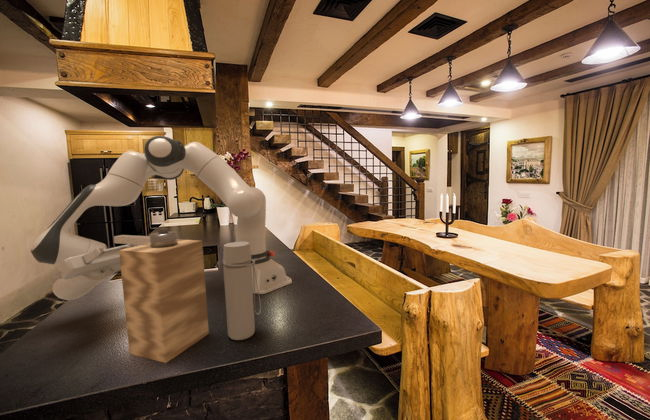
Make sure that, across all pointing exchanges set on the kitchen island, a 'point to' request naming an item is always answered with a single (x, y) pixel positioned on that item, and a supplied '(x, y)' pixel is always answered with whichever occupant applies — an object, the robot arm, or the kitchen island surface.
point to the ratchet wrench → (150, 239)
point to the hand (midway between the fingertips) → (119, 246)
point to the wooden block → (164, 298)
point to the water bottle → (239, 290)
